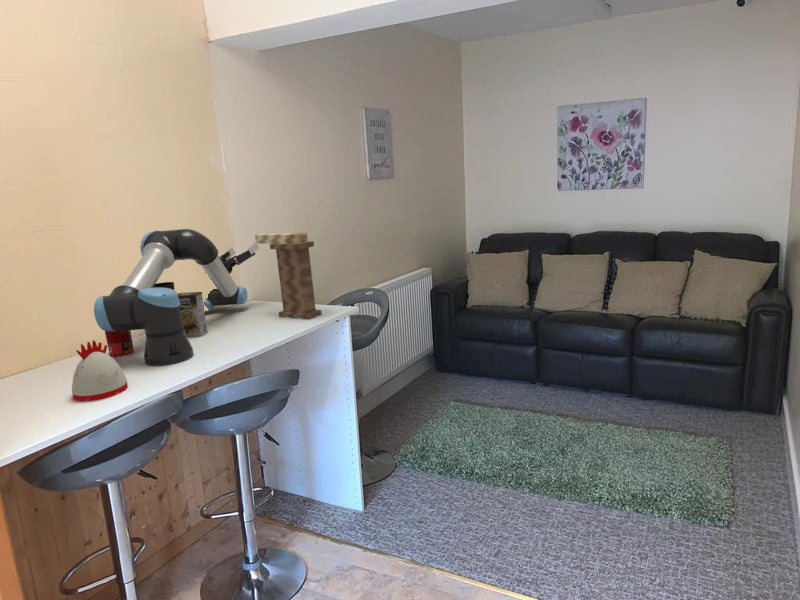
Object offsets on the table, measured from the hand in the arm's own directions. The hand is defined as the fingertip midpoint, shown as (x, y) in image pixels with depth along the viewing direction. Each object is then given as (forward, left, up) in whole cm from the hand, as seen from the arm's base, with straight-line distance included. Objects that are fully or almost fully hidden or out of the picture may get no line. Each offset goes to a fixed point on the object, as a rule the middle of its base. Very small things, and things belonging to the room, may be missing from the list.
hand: (246, 246), depth 246 cm
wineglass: (-22, -33, -29) cm, 49 cm away
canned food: (-28, -55, -29) cm, 68 cm away
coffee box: (-12, -34, -29) cm, 46 cm away
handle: (+18, -8, +1) cm, 20 cm away
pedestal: (+23, -11, -29) cm, 38 cm away
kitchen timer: (-11, -92, -29) cm, 97 cm away
